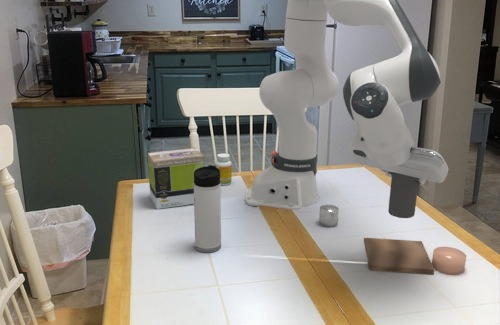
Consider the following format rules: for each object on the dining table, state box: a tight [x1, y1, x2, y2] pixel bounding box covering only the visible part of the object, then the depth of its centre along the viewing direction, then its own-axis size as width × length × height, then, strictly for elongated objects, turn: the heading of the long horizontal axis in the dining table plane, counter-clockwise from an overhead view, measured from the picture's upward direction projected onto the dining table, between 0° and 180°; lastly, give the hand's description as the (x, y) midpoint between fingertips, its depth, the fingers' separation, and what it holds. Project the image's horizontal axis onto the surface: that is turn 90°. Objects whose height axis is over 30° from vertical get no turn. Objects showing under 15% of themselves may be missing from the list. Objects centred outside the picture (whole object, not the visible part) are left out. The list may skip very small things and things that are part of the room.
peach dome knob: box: [431, 246, 467, 276], centre depth 116 cm, size 7×7×4 cm
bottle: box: [388, 172, 419, 219], centre depth 115 cm, size 6×6×15 cm
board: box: [363, 237, 435, 275], centre depth 120 cm, size 14×14×1 cm
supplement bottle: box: [214, 153, 233, 186], centre depth 166 cm, size 5×5×10 cm
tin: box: [318, 204, 340, 228], centre depth 136 cm, size 5×5×5 cm
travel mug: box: [193, 164, 222, 254], centre depth 121 cm, size 6×7×20 cm
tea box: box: [147, 147, 206, 210], centre depth 150 cm, size 15×10×15 cm, turn 111°
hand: (406, 177), depth 115 cm, fingers closed on bottle, 6 cm apart
